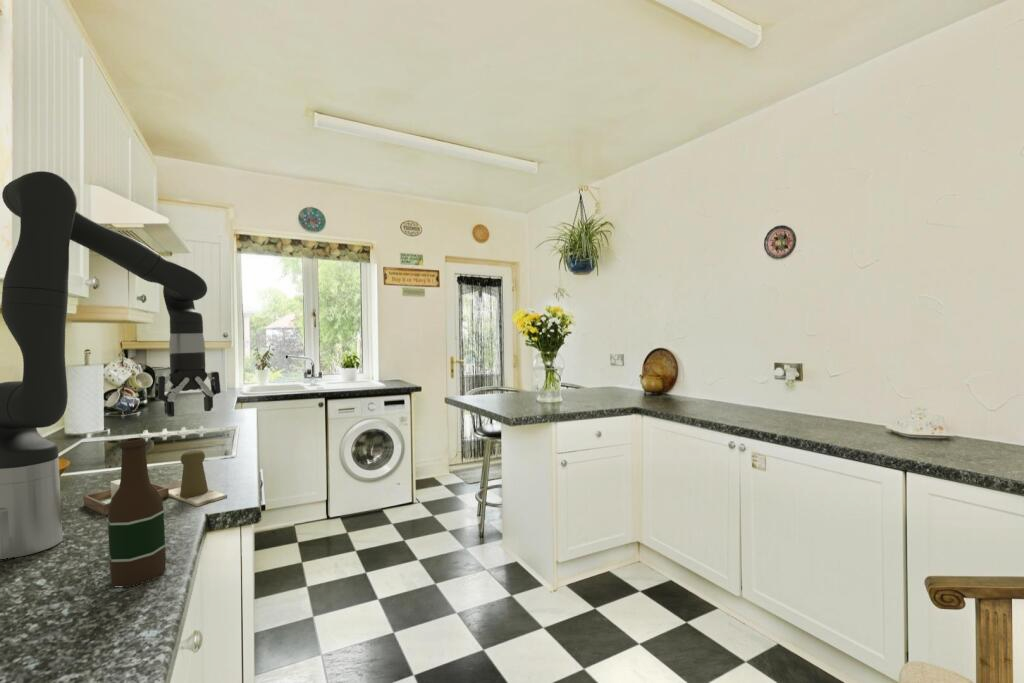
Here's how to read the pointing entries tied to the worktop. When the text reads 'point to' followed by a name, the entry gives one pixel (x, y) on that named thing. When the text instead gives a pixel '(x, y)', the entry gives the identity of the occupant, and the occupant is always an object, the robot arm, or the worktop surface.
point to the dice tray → (103, 499)
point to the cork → (193, 474)
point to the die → (114, 487)
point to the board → (195, 500)
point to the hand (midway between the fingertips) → (189, 413)
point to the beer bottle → (135, 521)
